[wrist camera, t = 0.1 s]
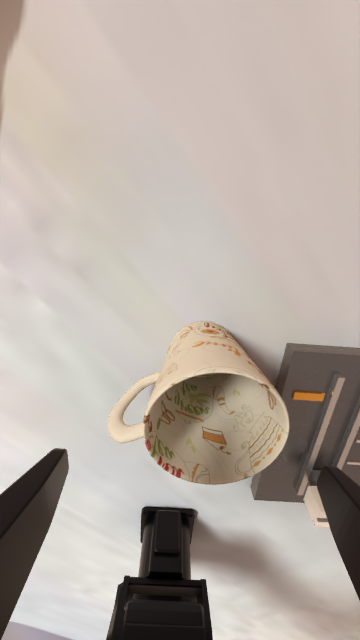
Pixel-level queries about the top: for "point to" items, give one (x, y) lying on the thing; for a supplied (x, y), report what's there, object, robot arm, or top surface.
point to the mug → (207, 410)
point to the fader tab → (315, 501)
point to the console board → (315, 420)
